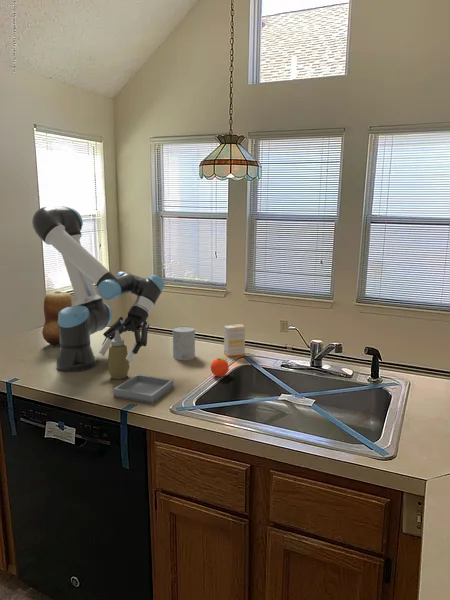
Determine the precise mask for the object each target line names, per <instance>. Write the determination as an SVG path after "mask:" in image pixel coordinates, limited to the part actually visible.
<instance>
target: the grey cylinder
mask: <svg viewBox="0 0 450 600" xmlns="http://www.w3.org/2000/svg"><path fill="white" fill-rule="evenodd" d="M172 358H173V359H174V360H177V361H190V360H193V359H195V358H196V328H195V327H193V326H187V325H185V326H184V325H183V326H181V325H180V326H175V327H174V328H172Z"/></svg>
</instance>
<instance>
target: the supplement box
mask: <svg viewBox="0 0 450 600" xmlns="http://www.w3.org/2000/svg"><path fill="white" fill-rule="evenodd" d="M245 342H246V326H244V325H243V324H242V323H241V324H240V323H239V324H229V325H224V326H223V343H224V344H223V354H224V356H226V357H227V358H230V357H239V356H240V357H241V356H245V354H246V345H245V344H246V343H245Z"/></svg>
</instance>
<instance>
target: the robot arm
mask: <svg viewBox="0 0 450 600" xmlns="http://www.w3.org/2000/svg"><path fill="white" fill-rule="evenodd" d="M83 226H84V220H83V218H82V215H81V214H80V213H79V212H78V211H77V210H76V209H75V208H73V207H68V206H44V207H41V208H38V210H36V211H35V213H34V214H33V216H32V228H33V229H34V232H35V233H36V235H37V237H39V239H40V240H41V241H43V242H44V243H45V244H46V245H51V246H52V247H53V248H54V249H55V250H57V251H58V253H60V255H61V257H62V260H63V263H64V266H65V269H66V272H67V275H68V279H69V281H70V285H71V287H72V290H73V293H74V296H75V299H76V301H75V304H74V305H73V306H72V307H67V308H64V309H63V310H61V311H60V312H59V314H58V325H59V339H60V345H59V352H58V355H57V359H56V361H55V362H56V365H55V366H56V368H57V370H59V371H63V372H80V371H86V370H89V369H92V368H94V367H95V366H96V364H97V362H96V361H97V360H96V359H97V358H96V357H95V354H94V352H93V349H92V346H91V335H93V334H95V333H97V332H99V331H100V332H101V331H103V330H104V329H106V328H107V327H108V326H109V325H110V324H111V321H112V318H113V313H112V309H111V307H110V306H109V304H107V303H106V302H104V300H106V301H111V300H115V299H118V298H119V297H123V296H126V295H128V294H129V295H130V294H131V295H134V296H137V297H136V298H135V300H134V302H133V303H132V306H130V309H129V310H128V312H127V316H126V318H123V316H120V317H119V318H118V319H117V321H116V322H115V323H114V324H112V325H111V326H110V327H109V328H108V329H106V331H105V332H103V334H102V335H103V336H104V337H105V339H104V340H103V342H102V345H101V347H100V349H99V351H98V353H99V354H100V355H101V356H102V357H103V356H106V354H107V352H108V351H109V347H110V346H111V340H113V339H114V337H115V332H116V330H119V333H120V335H122V334H123V333H126V332H132V333H134V334H133V335H134V338H135V342H134V343H133V344H132V345H131V347H130V349H129V351H128V352H127V353H128V355H127V357H126V359H127V360H128V361H129V363H132V362H133V359H134V357H135V356H136V355H137V354H138V353H139V351H140V349H141V348H142V347H146V346H147V345H148V334H149V333H148V332H149V331H148V330H149V328H150V324H149V323H148V321H147V320H148V317H149V315H150V314H151V312H152V310H153V309H154V306H155V304H156V303H157V301H158V299H159V298H160V296H161V294H162V291H164V287H165V285H166V284H165V281H164V279H163V278H161V277H160V276H158V275H157V274H156V275H155V274H150V275H149V276H148V277H147V278H145V277H140V276H138V275H135V274H132V273H129V272H127V271H126V272H125V271H118V272H117V274H115V275H114V274H113V273H112V272H111V271H109V269H107V267H105V266H104V265H103V264H102V263H101V262H100V261H99V260H98V259H97V258H95V256H93V255H92V254H91V253H90V252H89V251H88V250H87V249H86V248H85V247H84V246H82V243H81V238H82V236H83V234H82V232H81V230H83V228H82V227H83ZM95 286H96V287H97V289H96V287H95ZM96 290H97V291H96ZM97 292H98V293H97ZM140 329H141V330H140Z"/></svg>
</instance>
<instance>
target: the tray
mask: <svg viewBox="0 0 450 600" xmlns="http://www.w3.org/2000/svg"><path fill="white" fill-rule="evenodd" d="M174 384H175V382H174V380H173V379H170V378H163V377H157V376H150V375H143V374H137V373H136V374H135V375H134V376H132V377H131V378H128V379H127V380H126V381H123V382H122V383H120V384H119V385H116V386H115V387H114V388H113V389H112V390H113V397H114V398H118V399H125V400H130V401H134V402H135V401H136V402H141V403H144V404H145V403H147V404H151V405H153V404H154V403H155V402H157V401H158V400H160V398H162V397H163V396H165V395H166V394H167V393H168V392H170V391H171V390H172V389H174V386H175V385H174Z"/></svg>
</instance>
